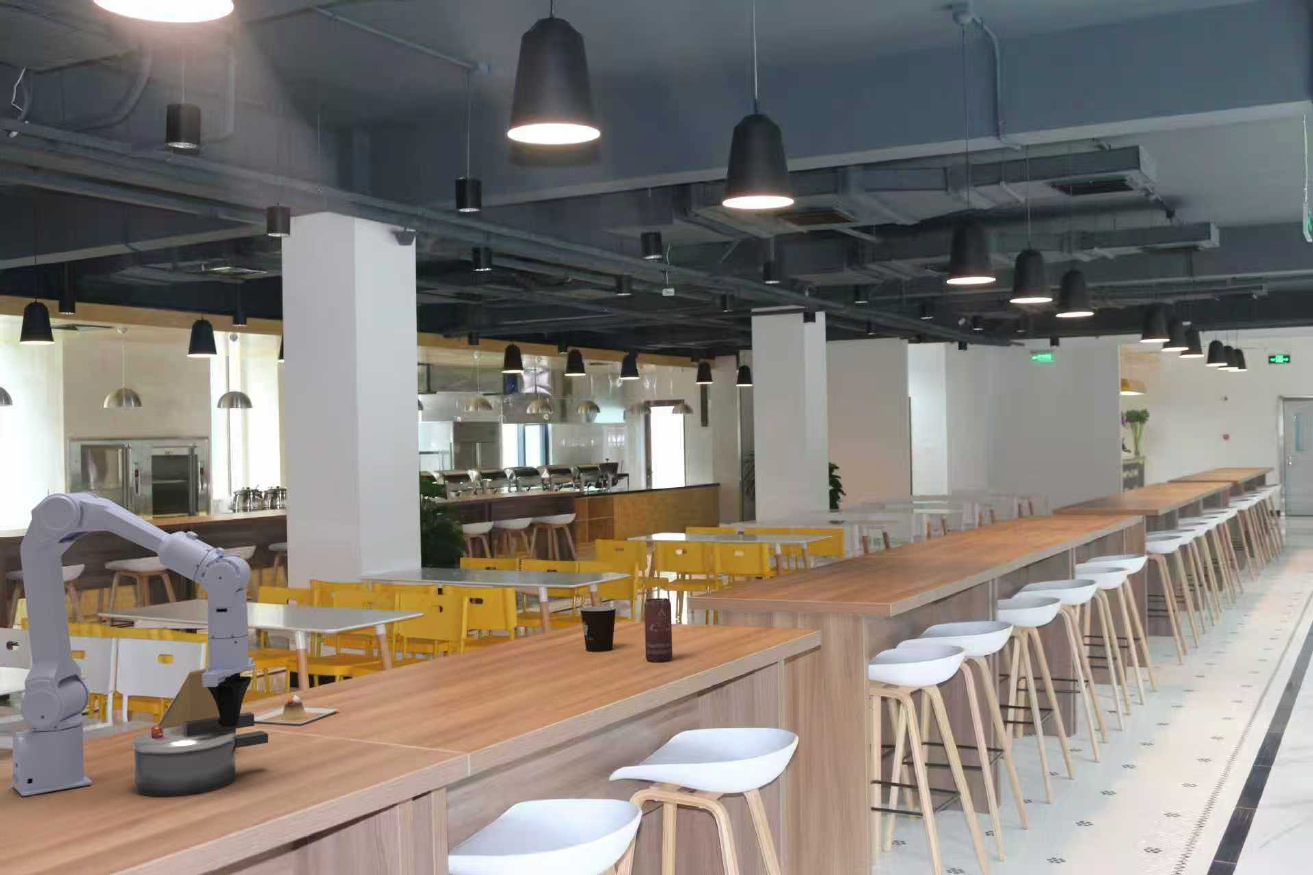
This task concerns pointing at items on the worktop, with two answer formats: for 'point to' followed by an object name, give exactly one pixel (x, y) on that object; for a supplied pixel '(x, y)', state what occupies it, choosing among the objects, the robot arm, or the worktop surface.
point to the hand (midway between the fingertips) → (230, 726)
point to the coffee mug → (598, 628)
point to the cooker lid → (190, 736)
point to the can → (658, 630)
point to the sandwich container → (191, 703)
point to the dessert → (293, 713)
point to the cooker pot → (191, 768)
